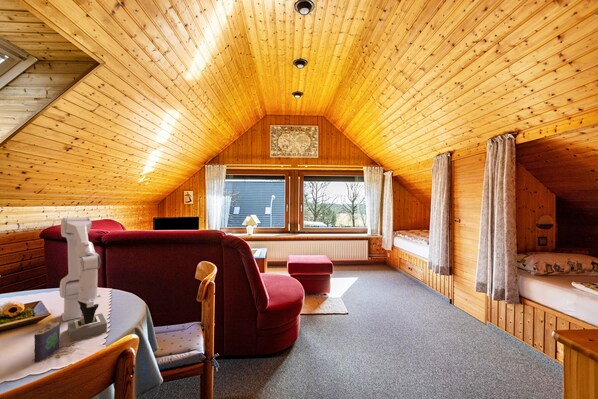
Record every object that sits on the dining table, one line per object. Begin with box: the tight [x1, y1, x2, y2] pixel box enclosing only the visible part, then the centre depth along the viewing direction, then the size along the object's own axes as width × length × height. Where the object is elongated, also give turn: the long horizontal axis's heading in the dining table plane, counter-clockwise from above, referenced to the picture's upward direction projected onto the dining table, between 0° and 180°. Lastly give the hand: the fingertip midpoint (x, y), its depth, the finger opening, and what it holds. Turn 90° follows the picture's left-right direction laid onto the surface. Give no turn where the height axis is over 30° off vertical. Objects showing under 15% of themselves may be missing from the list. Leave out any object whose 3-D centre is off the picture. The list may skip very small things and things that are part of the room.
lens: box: [80, 313, 96, 326], centre depth 105 cm, size 4×4×7 cm
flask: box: [33, 321, 61, 363], centre depth 89 cm, size 9×3×11 cm, turn 8°
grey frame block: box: [67, 312, 108, 343], centre depth 105 cm, size 12×11×4 cm
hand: (87, 319), depth 105 cm, fingers open, 7 cm apart
